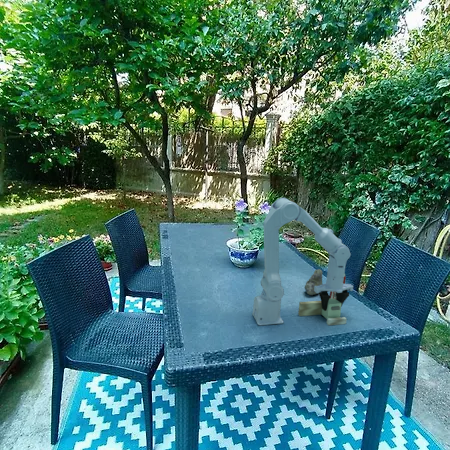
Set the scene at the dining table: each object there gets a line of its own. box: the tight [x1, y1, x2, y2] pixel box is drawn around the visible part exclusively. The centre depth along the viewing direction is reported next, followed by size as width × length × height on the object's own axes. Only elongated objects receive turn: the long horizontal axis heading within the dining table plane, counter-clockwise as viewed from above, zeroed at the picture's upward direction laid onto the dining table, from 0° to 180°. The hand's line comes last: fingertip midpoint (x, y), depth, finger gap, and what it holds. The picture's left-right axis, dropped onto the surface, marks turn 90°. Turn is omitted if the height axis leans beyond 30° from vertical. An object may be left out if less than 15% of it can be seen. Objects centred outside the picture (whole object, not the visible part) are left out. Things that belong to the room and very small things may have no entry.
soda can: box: [329, 273, 347, 299], centre depth 122 cm, size 5×5×12 cm
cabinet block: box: [321, 298, 342, 320], centre depth 108 cm, size 5×5×6 cm
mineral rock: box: [304, 268, 323, 296], centre depth 130 cm, size 13×11×10 cm
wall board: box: [297, 300, 347, 326], centre depth 108 cm, size 16×9×5 cm, turn 101°
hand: (331, 308), depth 109 cm, fingers closed on cabinet block, 5 cm apart
